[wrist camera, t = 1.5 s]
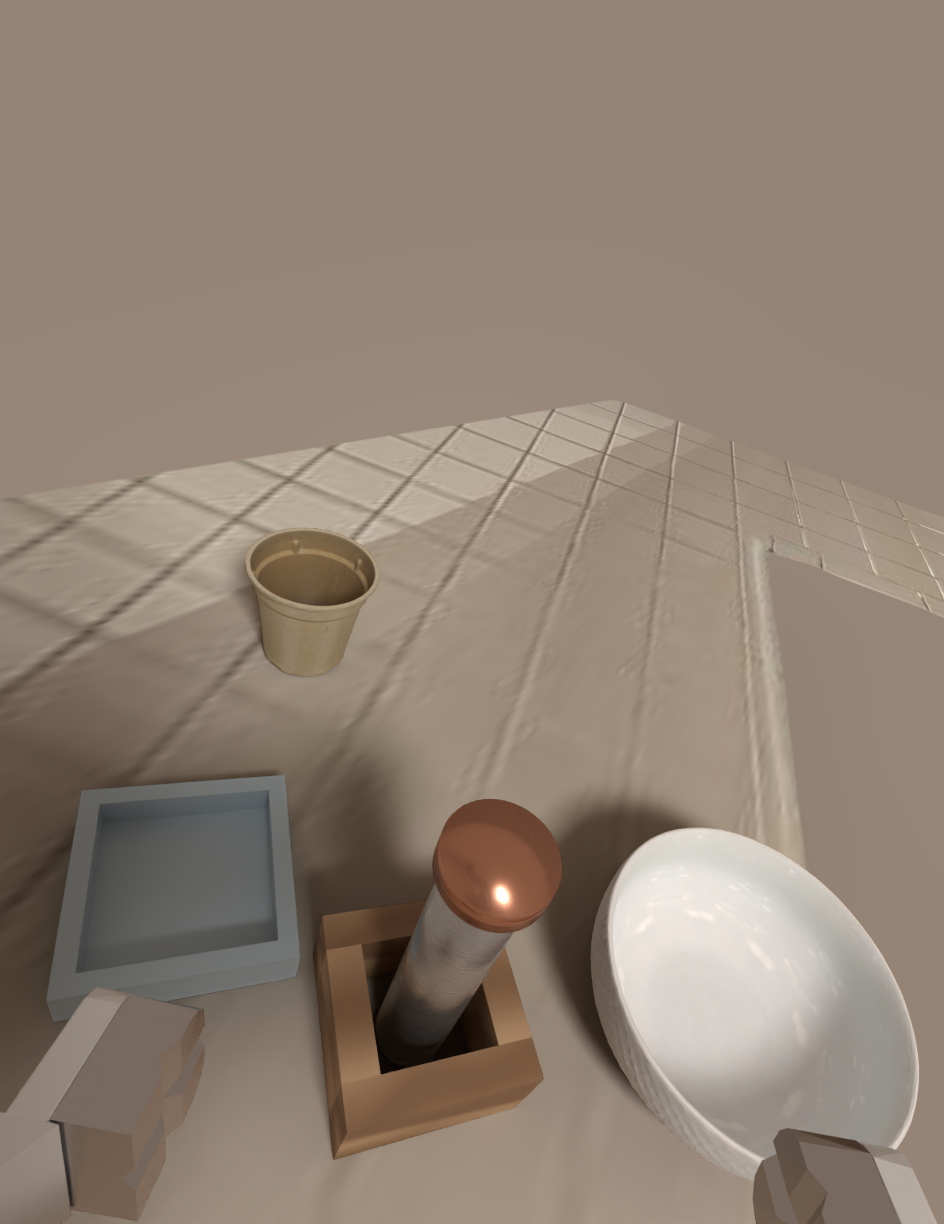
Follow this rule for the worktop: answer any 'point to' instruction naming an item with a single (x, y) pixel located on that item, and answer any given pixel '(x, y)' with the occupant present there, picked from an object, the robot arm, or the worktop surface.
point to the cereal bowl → (748, 1001)
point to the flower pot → (309, 595)
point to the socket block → (423, 1093)
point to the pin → (466, 922)
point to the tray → (177, 892)
